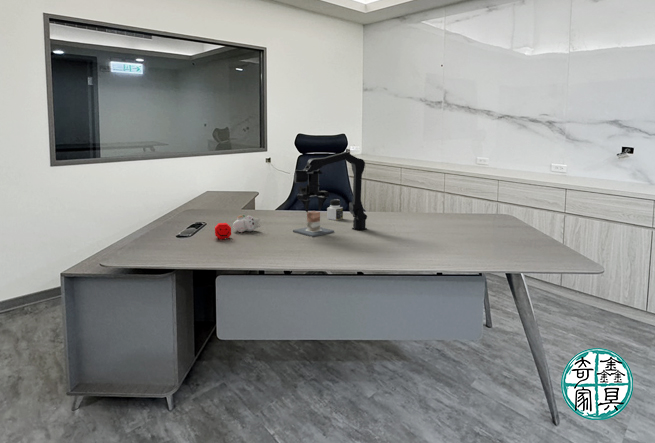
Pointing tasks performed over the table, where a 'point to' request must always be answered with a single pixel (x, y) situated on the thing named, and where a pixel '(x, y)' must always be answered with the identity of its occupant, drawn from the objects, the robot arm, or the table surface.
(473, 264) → the table surface
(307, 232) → the blue-grey square plate
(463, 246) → the table surface
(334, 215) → the medicine bottle
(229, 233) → the ball
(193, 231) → the table surface
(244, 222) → the cat figurine
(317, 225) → the off-white block
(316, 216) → the terracotta block
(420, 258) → the table surface
